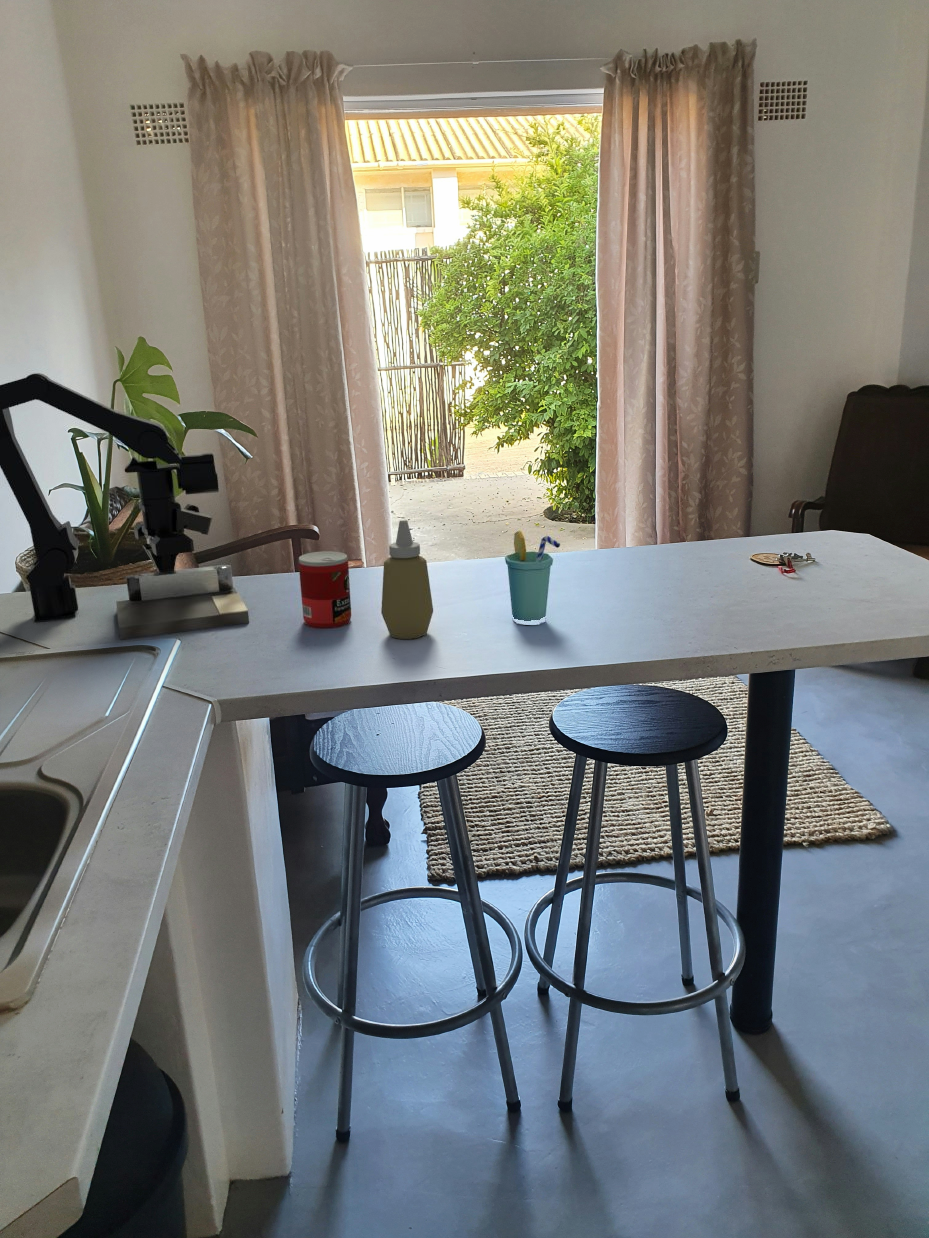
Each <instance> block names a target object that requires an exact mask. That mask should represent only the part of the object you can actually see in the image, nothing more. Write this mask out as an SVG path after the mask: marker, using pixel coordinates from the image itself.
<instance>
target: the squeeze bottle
mask: <svg viewBox="0 0 929 1238" xmlns="http://www.w3.org/2000/svg"><path fill="white" fill-rule="evenodd" d="M388 551H389V552H388V553H389V557H387V558H386V560H385V561H384V562H383V573H382V592H381V611H380V612H381V613H380V614H381V616H382V619H383V620H384V621H383V622H384V623H385V625H386V628H387V631H388V633H389V635H390V637H393V638H395V639H400V640H410V639H412V640H413V639H417V638H422V637H424V636H425V634H427V633H428V629H429V627H430V623H431V621H432V617H433V614H434V605H433V599H432V592H431V591H432V589H431V585H430V584H431V583H430V576H429V569H428V562H427V560H426V558H424V557H423V556H422V555H420V554H421V544H420V543H419V542H416V541H413V538H412V534H411V529H410V526H409V522H408V520H407V519H401V520H399V522H398V529H397V533H396V541H395V542H392V543H390V544H389V546H388ZM423 635H424V636H423ZM421 636H422V637H421Z"/></svg>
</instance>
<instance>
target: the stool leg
mask: <svg viewBox="0 0 929 1238" xmlns="http://www.w3.org/2000/svg"><path fill="white" fill-rule="evenodd" d="M232 572H233V571H232V566H231V565H230V564H219V565H218V564H217V565H211V566H203V567H196V568H195V567H194V568H185V569H174V571H165V572H158V571H157V572H149V573H140V574H138V573H137V574H131V575H127V576H126V577H125V580H126V587H127V593H128V600H129V601H142V600H150V599H159V598H167V597H176V596H184V595H192V594H201V593H209V592H218V591H229V590H232V589H233V588H234V580H233V579H234V578H233V573H232Z"/></svg>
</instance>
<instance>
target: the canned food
mask: <svg viewBox="0 0 929 1238" xmlns="http://www.w3.org/2000/svg"><path fill="white" fill-rule="evenodd" d="M298 572H299V583H300V597H301V605H302V606H301V607H302V619H303V621H304V623H305V625H306V626H308V627H311V628H316V629H333V628H338V627H342V626H345V625H347V624H348V623H350V622H349V621H351V618H352V606H351V605H352V603H351V586H350V585H351V584H350V568H349V559H348V555H347V554H346V553H343V552H340V551H329V550H328V551H327V550H326V551H314V552H313V551H312V552H307V553H305V554H302V555H300V556H299V557H298Z"/></svg>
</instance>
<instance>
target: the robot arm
mask: <svg viewBox="0 0 929 1238" xmlns="http://www.w3.org/2000/svg"><path fill="white" fill-rule="evenodd" d="M33 401H40V402H42V403H44V404H46V405H49V406H51V407H53V408H55V409H57V410H59V411H61V412H63V413H65V414H68V415H70V416H73V417H74V418H76V419H78V420H80V421H83V422H85V423H87V424H89V425H91V426H94V427H96V428H98V429H99V430H102V431H104V432H106V433H108V434H109V435H111V436H113V437H114V438H115V439H116V440H118V441H119V442H121V443H122V445H124V446H126V447H127V448H129V449H130V450H132V451H133V452H134V453H136V454H137V455H139V456H141V457H142V458H144V459H148V460H138V459H137V458H136V457H135V456H132V457H131V459H130V462H129V463H128V464H127V465H126V466H125V467H124V472H125V473H126V474H130V473H136V476H137V477H136V478H137V485H138V492H139V499H140V500H139V501H140V502H138V504H137V505H138V509H140V510H141V513H142V520H141V521H138V522H136V524H135V525H134V526H133V531H134V538H135V539H137V540H139V541H140V540H142V537H145V538H146V543H143V544H142V547H143V548H144V550H145V553H146V554H147V556H148V558H149V559H150V560H151V563H152V564H153V565H154V568H155V569H156V570H157V572H165V571H174V570H176V569H175V568H176V563H177V557H178V556H179V555H180V554H185V553H186V554H187V553H192V552H194V551H195V548H194V547H195V545H194V540H193V539H192V538H191V537H190V536H188V535H187V534H185V530H188V531H193V532H198V533H201V535H207V536H208V535H209V532H210V528H211V526H212V525H211V524H212V520H213V517H212V516H210V515H208V514H206V513H204V512H200V509H199V507H198V506H197V505H195V504H190V503H187V504H186V506H184V507H182V506H181V504H180V503H179V501H176V494H175V487H174V486H175V485H174V478H173V471H175V472H176V481H177V488H178V490H182V491H183V492H184V491H185V492H184V493H185V495H199V494H213V493H214V494H215V493H219V491H220V490H219V479H218V472H217V471H216V465H215V457H214V453H212V452H206V453H201V454H191V455H181V454H180V453H179V450H178V449H176V448H175V447H174V446H173V445H172V444H171V443H170V442H169V436H168V433H167V430H166V428H164V427H163V426H162V425H161V424H159V422H157V421H152V420H150V419H145V418H143V417H141V416H140V417H139V416H136V415H131V414H127V413H124V412H120V411H118V410H116V409H113V408H111V407H109V406H107V405H105V404H103V403H100V402H99V401H97V400H94V399H92V398H91V397H88V396H86V395H84V394H82V393H80V392H78V391H76V390H73V389H71V388H69V387H67V386H65V385H63V384H61V383H59V382H57V381H55V380H53V379H51V378H49V377H48V375H46V374H44V373H40V372H39V373H38V372H37V373H35V372H34V373H31V374H29V375H27V376H26V377H24V378H21V379H20V378H19V379H15V380H13V381H10V382H7V383H3V384H0V469H1V471H2V473H3V475H4V478H5V480H6V481H7V483H8V485H9V487H10V489H11V491H12V493H13V495H14V498H15V499H16V502H17V503H18V505H19V507H20V509H21V511H22V514H23V515H24V517H25V519H26V521H27V523H28V526H29V530H30V535H31V539H32V544H33V549H34V552H35V556H36V560H35V562H34V563H33V564H32V565H31V567H30V569H29V571H28V572H27V574H26V577H25V578H26V580H27V582H28V584H29V585H28V587H29V592H30V597H31V604H32V609H33V622H34V623H35V622H37V623H38V622H46V621H52V620H53V621H54V620H62V619H69V618H70V619H71V618H75V617H76V615H77V612H78V611H79V603H78V595H77V590H76V585H75V584H72V583H71V581H72V580H71V576H69V575H66V574H67V573H69V572H70V571H71V570H72V569H73V568H74V565H75V564H76V561H77V558H78V554H79V549H78V548H79V544H80V540H79V539H78V538H77V537H76V536H75V534H74V532H73V528H72V524H71V521H70V520H68V521H66V522H64V523H63V524H62V522H61V521H60V520H58V518H57V517H56V516H55V515H54V513H53V512H52V509H51V508H50V505H49V503H48V501H47V499H46V497H45V495H44V492H43V490H42V489H41V487H40V485H39V483H38V481H37V478H36V476H35V474H34V473H33V470H32V468H31V466H30V464H29V462H28V460H27V458H26V456H25V454H24V451H23V449H22V447H21V446H20V444H19V442H18V441H19V440H18V439H17V437H16V433H15V429H14V424H13V423H14V422H13V419H12V414H11V410H10V408H12V407H13V408H14V407H15V406H19V405H21V404H26V403H29V402H33ZM153 459H154V460H153ZM156 459H159V460H160V461H162V462H164V463H166V464H158V460H156Z"/></svg>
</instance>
